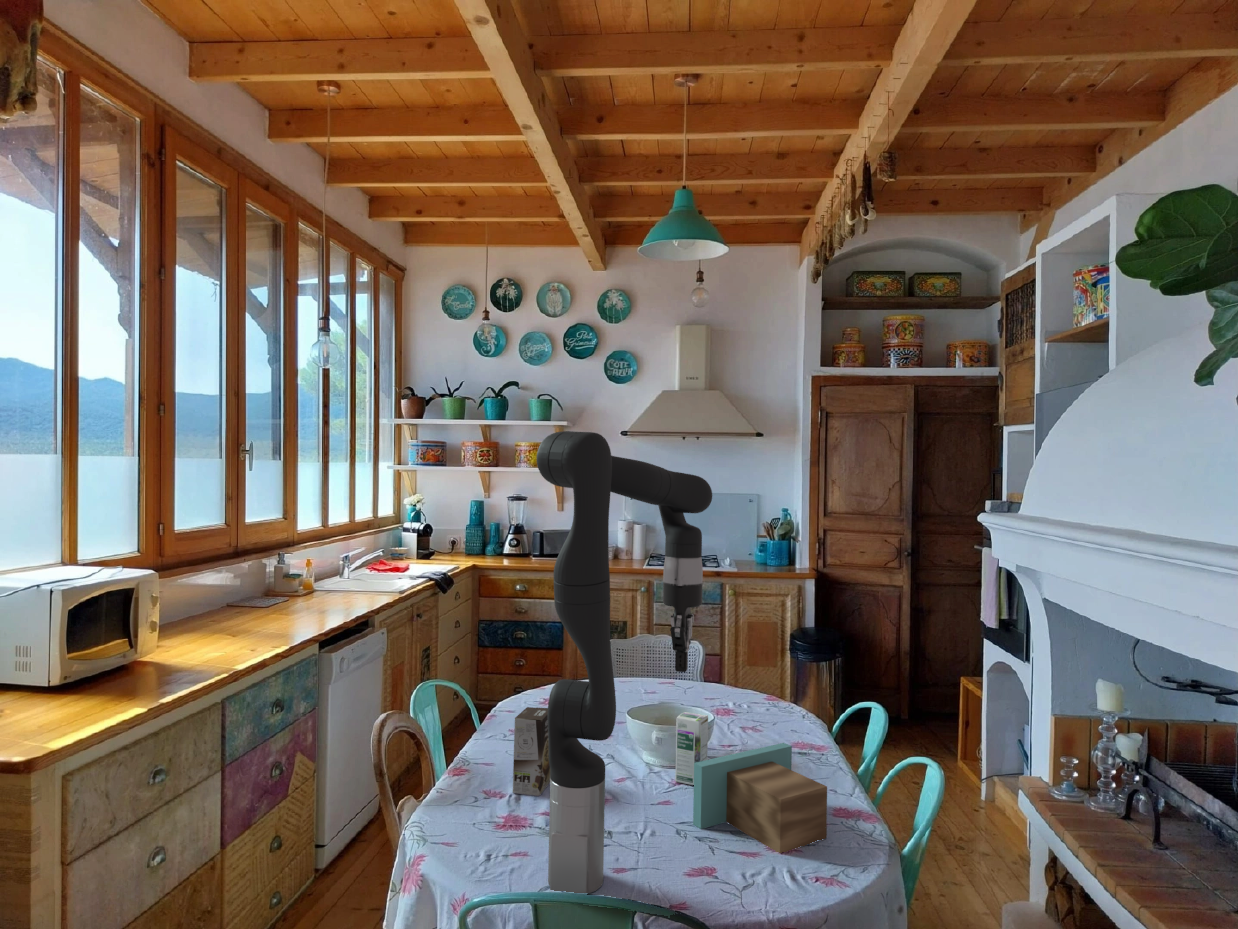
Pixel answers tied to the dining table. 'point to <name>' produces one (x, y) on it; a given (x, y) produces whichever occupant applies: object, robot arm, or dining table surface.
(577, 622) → the robot arm
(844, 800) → the dining table surface
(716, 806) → the teal board
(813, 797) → the walnut block
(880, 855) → the dining table surface
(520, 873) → the dining table surface
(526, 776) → the coffee box
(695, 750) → the syrup box
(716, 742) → the dining table surface
